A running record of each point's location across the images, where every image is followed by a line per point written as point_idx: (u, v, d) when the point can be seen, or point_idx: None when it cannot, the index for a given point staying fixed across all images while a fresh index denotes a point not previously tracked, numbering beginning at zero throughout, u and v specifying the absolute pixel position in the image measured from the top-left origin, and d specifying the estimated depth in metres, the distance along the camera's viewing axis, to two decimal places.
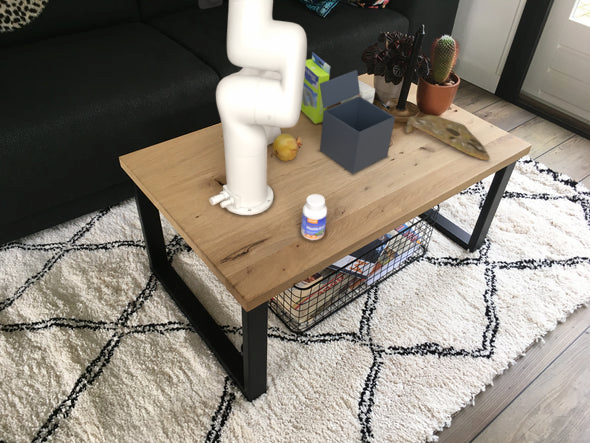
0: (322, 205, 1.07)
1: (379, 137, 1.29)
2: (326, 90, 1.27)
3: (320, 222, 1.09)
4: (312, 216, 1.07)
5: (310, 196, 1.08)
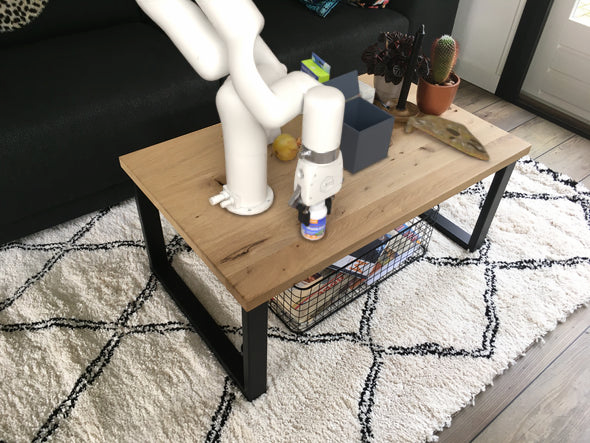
0: (322, 205, 1.07)
1: (379, 137, 1.29)
2: None
3: (320, 222, 1.09)
4: (312, 217, 1.07)
5: None
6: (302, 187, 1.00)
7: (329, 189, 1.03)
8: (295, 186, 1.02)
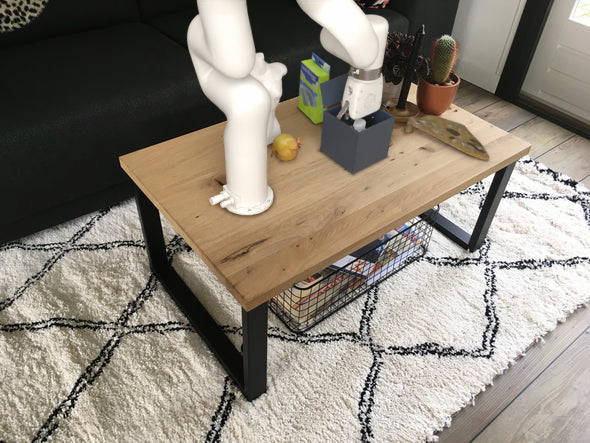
0: (363, 126, 1.29)
1: (379, 137, 1.29)
2: (326, 90, 1.27)
3: None
4: None
5: None
6: (350, 102, 1.22)
7: (371, 106, 1.25)
8: (343, 103, 1.24)
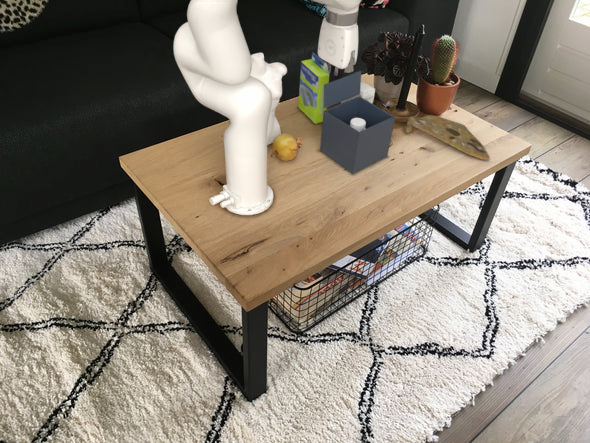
0: (363, 126, 1.29)
1: (379, 137, 1.29)
2: (329, 91, 1.27)
3: None
4: None
5: (353, 119, 1.31)
6: None
7: (332, 56, 1.23)
8: None
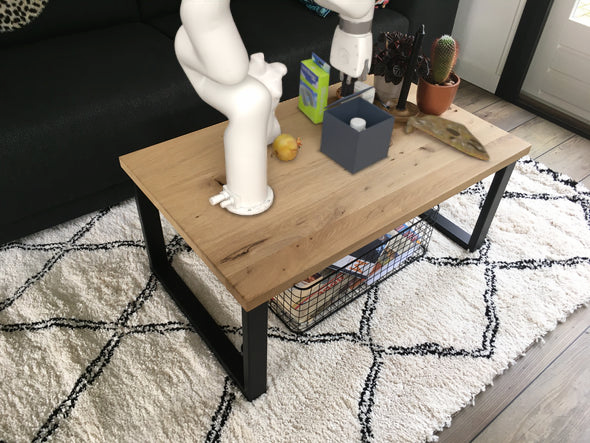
0: (363, 126, 1.29)
1: (379, 137, 1.29)
2: (338, 102, 1.26)
3: None
4: None
5: (353, 119, 1.31)
6: None
7: (345, 64, 1.21)
8: None
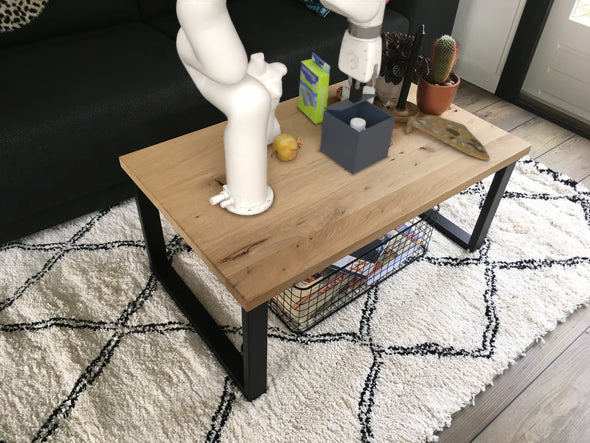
0: (363, 126, 1.29)
1: (379, 137, 1.29)
2: None
3: None
4: None
5: (353, 119, 1.31)
6: None
7: (354, 69, 1.19)
8: None
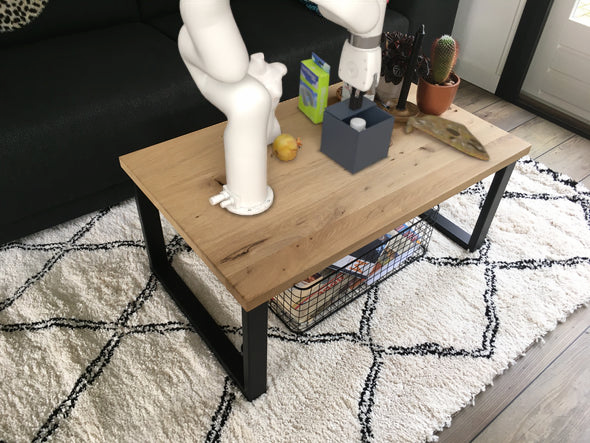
0: (363, 125, 1.29)
1: (379, 137, 1.29)
2: None
3: None
4: None
5: (353, 119, 1.31)
6: None
7: (354, 78, 1.21)
8: None
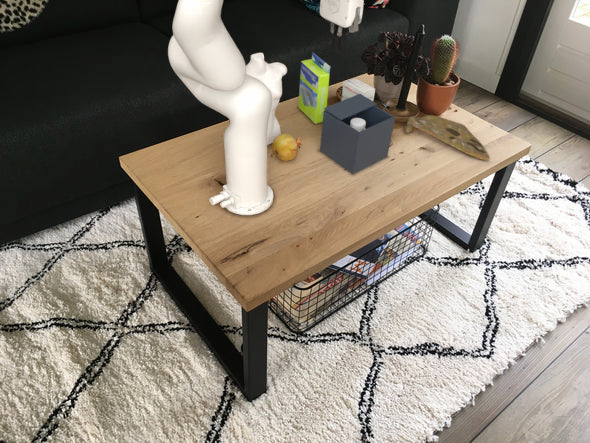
0: (363, 126, 1.29)
1: (379, 137, 1.29)
2: None
3: None
4: None
5: (353, 119, 1.31)
6: None
7: (335, 13, 1.14)
8: None
